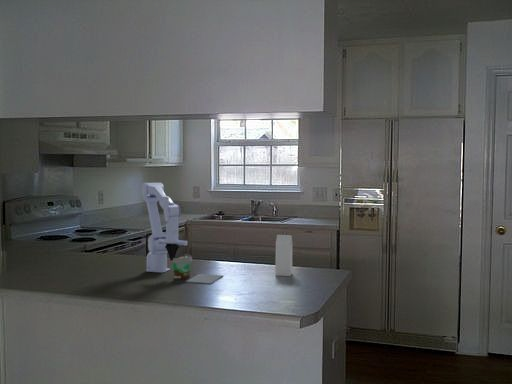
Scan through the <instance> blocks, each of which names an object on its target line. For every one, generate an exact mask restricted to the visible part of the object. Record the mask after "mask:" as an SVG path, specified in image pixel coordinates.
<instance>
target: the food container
mask: <svg viewBox="0 0 512 384" xmlns="http://www.w3.org/2000/svg"><path fill="white" fill-rule="evenodd" d="M192 261H193V257H192V255H190V254H187V253H184V254H183V255H182V256H178V257H177V258H176V257H175V258H173V260H172V264H173V279H174V280H175V281H176V280H177V281H179V280H182V279H183V280H188V279H190V277H191V276H190V275H191V262H192ZM187 278H188V279H187Z"/></svg>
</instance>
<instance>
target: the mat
mask: <svg viewBox="0 0 512 384" xmlns="http://www.w3.org/2000/svg"><path fill="white" fill-rule="evenodd" d="M223 277H224V275H223V274H222V275H221V274H209V273H198V274H196V275H195V276H193V277H191V278H188V279H186V280H185V283H191V284H202V285H212V284H213V283H215V282H217V281H219V280H220V279H222V278H223Z"/></svg>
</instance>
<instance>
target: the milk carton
mask: <svg viewBox="0 0 512 384" xmlns="http://www.w3.org/2000/svg"><path fill="white" fill-rule="evenodd" d="M292 237H293V235H290V234H289V235H287V234H286V235H285V234H276V239H275V263H274V265H275V266H274V267H275V270H274V271H275V273H274V274H275V276H276V277H277V276H278V277H279V276H280V277H291V275H292V274H293V243H294V242H293V238H292Z"/></svg>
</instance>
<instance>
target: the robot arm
mask: <svg viewBox="0 0 512 384" xmlns="http://www.w3.org/2000/svg"><path fill="white" fill-rule="evenodd" d="M140 192H141V196H142V200H143V201H144V202H145V203H146V206H147V213H148V217H149V224H150V229H151V233H152V234H151V235H149V237H148V238H147V249H148V251H149V252H148V253H147V255H146V270H145V272H149V273H150V272H152V273H165V272H167V271H170V270H171V268H168V256H169V260H170V261H173V258H176V254H177V252H178V249H179V247H180V246H188V245H189V244H188V240H181V239H179V218H180V216H181V213H182V210H181V207H180V205H179V204H176V203H175V202H174V201H173V199H172V198H171V197H170V196H168V195H167V194H166V193H165V187H164V184H163V183H162V182H143V183H142V185H141V191H140ZM158 203H159V206H160V207H161V209H162V210H163V216H164V221H165V232H163V228H162V222H161V217H160V212H159V208H158Z"/></svg>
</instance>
